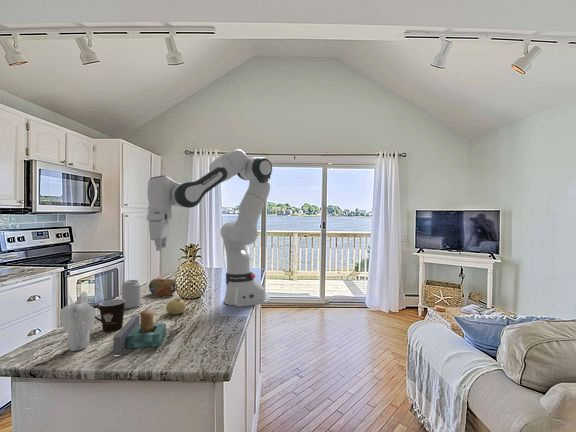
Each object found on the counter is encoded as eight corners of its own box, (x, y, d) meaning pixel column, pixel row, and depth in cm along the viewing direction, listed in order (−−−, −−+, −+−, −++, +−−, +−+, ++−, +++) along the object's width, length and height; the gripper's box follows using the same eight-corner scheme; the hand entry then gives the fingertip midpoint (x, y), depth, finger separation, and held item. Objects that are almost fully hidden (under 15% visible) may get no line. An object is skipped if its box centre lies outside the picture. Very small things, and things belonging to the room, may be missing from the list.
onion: (164, 317, 130) (164, 300, 130) (168, 311, 138) (167, 295, 138) (184, 315, 132) (184, 299, 131) (186, 309, 139) (186, 294, 139)
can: (143, 304, 147) (143, 279, 147) (134, 309, 139) (133, 283, 139) (128, 304, 148) (128, 278, 147) (118, 309, 140) (118, 282, 140)
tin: (148, 294, 164) (148, 278, 164) (152, 292, 167) (152, 277, 167) (174, 296, 161) (173, 280, 161) (177, 294, 164) (177, 278, 164)
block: (165, 334, 112) (165, 323, 112) (159, 346, 102) (159, 334, 102) (136, 336, 110) (136, 325, 110) (126, 348, 101) (126, 336, 100)
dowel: (154, 338, 109) (154, 310, 108) (152, 343, 105) (151, 314, 104) (142, 339, 108) (142, 311, 108) (139, 344, 104) (139, 314, 104)
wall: (139, 330, 115) (139, 314, 115) (120, 356, 96) (120, 337, 95) (133, 331, 115) (133, 315, 115) (113, 356, 95) (113, 337, 95)
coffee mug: (130, 325, 120) (130, 300, 120) (111, 334, 112) (111, 307, 112) (108, 322, 124) (107, 297, 124) (87, 330, 116) (87, 303, 116)
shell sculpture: (71, 357, 95) (70, 298, 95) (58, 350, 99) (57, 294, 99) (99, 346, 102) (98, 292, 102) (86, 341, 106) (85, 289, 106)
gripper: (157, 214, 137) (158, 245, 137) (145, 216, 117) (146, 253, 117) (172, 214, 138) (173, 245, 138) (163, 216, 118) (164, 252, 118)
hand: (161, 248), depth 128 cm, fingers open, 8 cm apart
